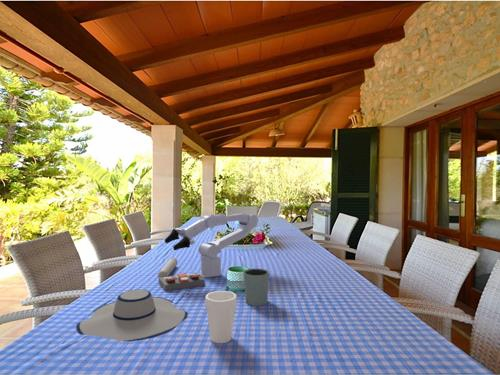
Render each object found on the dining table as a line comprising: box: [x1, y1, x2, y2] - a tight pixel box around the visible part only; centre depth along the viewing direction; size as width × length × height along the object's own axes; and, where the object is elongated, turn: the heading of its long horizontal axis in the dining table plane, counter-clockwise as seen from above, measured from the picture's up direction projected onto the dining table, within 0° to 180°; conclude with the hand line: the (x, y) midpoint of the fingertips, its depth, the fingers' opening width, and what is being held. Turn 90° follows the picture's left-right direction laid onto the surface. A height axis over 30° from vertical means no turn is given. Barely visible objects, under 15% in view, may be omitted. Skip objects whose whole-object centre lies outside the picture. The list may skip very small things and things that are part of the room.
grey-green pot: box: [243, 268, 270, 307], centre depth 135 cm, size 10×10×12 cm
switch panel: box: [158, 272, 206, 292], centre depth 157 cm, size 18×12×3 cm, turn 117°
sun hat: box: [76, 289, 188, 342], centre depth 119 cm, size 36×36×9 cm
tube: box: [157, 257, 178, 279], centre depth 175 cm, size 5×5×25 cm
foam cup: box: [205, 290, 237, 344], centre depth 104 cm, size 10×9×13 cm
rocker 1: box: [176, 272, 189, 282], centre depth 154 cm, size 4×6×1 cm, turn 27°
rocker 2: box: [189, 273, 202, 277], centre depth 157 cm, size 4×6×1 cm, turn 27°
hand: (169, 245), depth 158 cm, fingers open, 7 cm apart
